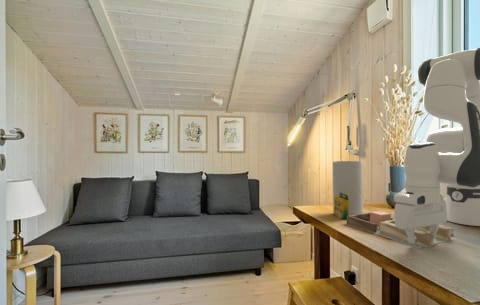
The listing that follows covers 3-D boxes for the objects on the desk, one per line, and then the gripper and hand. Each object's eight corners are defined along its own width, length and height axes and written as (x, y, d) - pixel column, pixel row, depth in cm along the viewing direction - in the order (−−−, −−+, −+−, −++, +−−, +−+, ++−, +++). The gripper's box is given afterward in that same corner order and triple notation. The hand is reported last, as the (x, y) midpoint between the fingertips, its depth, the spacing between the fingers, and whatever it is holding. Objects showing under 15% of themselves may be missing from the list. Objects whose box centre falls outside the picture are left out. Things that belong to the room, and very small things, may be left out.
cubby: (369, 219, 106) (369, 212, 106) (398, 227, 95) (398, 219, 95) (346, 223, 101) (346, 216, 101) (374, 232, 90) (374, 224, 90)
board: (378, 221, 109) (378, 217, 109) (456, 243, 83) (456, 238, 83) (345, 227, 101) (345, 223, 101) (419, 253, 75) (419, 248, 75)
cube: (379, 223, 101) (378, 210, 101) (390, 226, 96) (390, 213, 96) (369, 225, 99) (369, 212, 99) (381, 228, 94) (381, 215, 94)
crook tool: (395, 228, 94) (395, 219, 94) (445, 242, 79) (445, 231, 79) (379, 232, 90) (379, 222, 90) (428, 247, 76) (428, 235, 76)
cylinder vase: (332, 217, 116) (332, 162, 115) (334, 211, 127) (333, 161, 127) (363, 220, 111) (362, 162, 110) (361, 213, 122) (361, 161, 122)
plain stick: (418, 230, 92) (418, 220, 92) (450, 239, 83) (450, 228, 82) (413, 231, 91) (413, 221, 91) (446, 240, 82) (445, 229, 82)
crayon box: (334, 218, 114) (333, 192, 114) (340, 218, 115) (340, 192, 114) (342, 223, 107) (341, 195, 107) (349, 223, 107) (348, 195, 107)
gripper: (431, 191, 85) (431, 232, 86) (390, 196, 77) (390, 242, 77) (453, 194, 80) (454, 238, 80) (411, 200, 71) (411, 249, 72)
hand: (422, 240), depth 78 cm, fingers open, 8 cm apart
